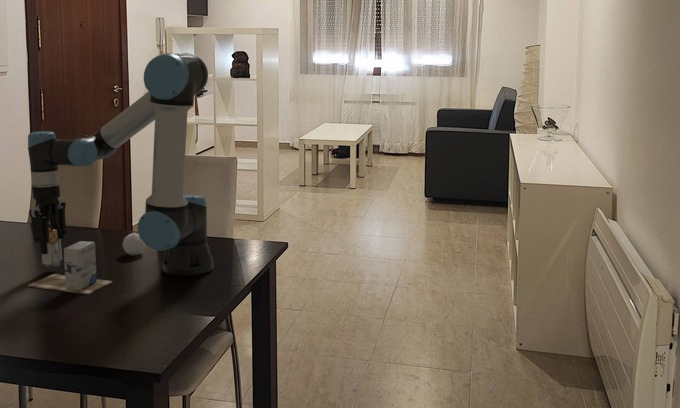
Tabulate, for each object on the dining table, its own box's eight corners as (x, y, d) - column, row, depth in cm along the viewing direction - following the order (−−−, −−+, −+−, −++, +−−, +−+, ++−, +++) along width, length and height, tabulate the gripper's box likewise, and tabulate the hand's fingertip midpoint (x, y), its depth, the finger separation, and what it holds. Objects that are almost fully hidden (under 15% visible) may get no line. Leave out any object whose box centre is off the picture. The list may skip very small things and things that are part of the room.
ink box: (82, 279, 212) (80, 240, 209) (98, 281, 211) (96, 241, 208) (65, 289, 204) (62, 248, 201) (81, 290, 203) (78, 249, 200)
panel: (112, 282, 211) (112, 281, 211) (88, 294, 201) (88, 293, 201) (53, 275, 217) (53, 273, 217) (27, 286, 207) (27, 285, 207)
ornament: (118, 256, 237) (118, 233, 240) (138, 260, 242) (138, 238, 245) (129, 249, 232) (129, 226, 236) (150, 253, 238) (150, 230, 241)
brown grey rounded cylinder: (63, 264, 222) (59, 228, 219) (54, 267, 218) (50, 231, 216) (51, 263, 223) (48, 227, 220) (42, 266, 219) (39, 230, 217)
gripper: (54, 179, 224) (60, 253, 229) (14, 189, 208) (22, 268, 213) (75, 180, 222) (81, 255, 227) (36, 190, 206) (43, 271, 211)
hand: (52, 261), depth 220 cm, fingers closed on brown grey rounded cylinder, 4 cm apart
